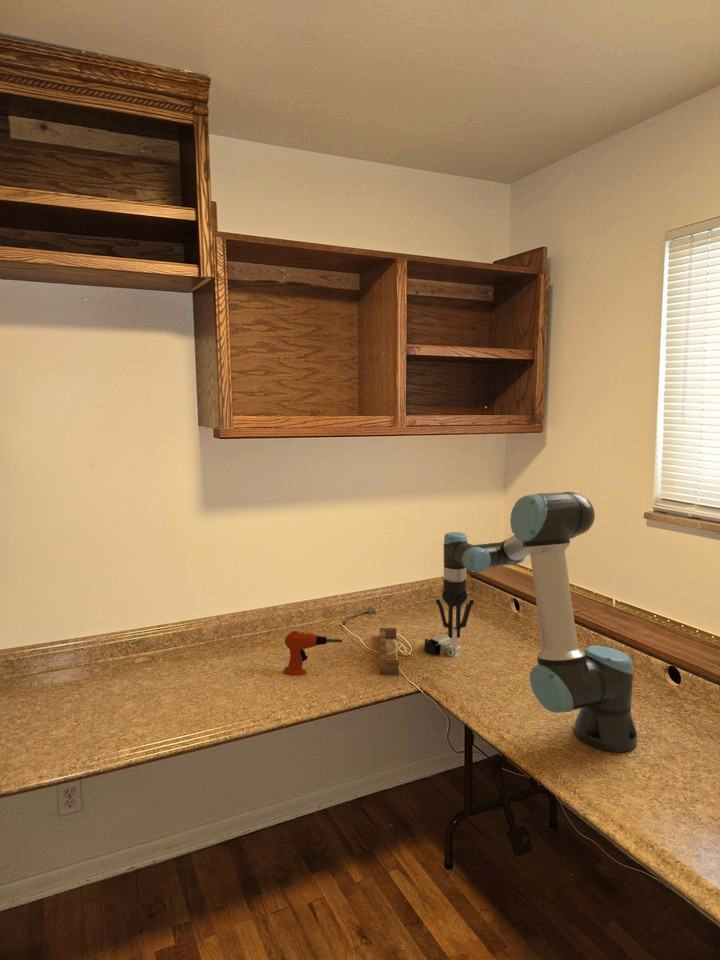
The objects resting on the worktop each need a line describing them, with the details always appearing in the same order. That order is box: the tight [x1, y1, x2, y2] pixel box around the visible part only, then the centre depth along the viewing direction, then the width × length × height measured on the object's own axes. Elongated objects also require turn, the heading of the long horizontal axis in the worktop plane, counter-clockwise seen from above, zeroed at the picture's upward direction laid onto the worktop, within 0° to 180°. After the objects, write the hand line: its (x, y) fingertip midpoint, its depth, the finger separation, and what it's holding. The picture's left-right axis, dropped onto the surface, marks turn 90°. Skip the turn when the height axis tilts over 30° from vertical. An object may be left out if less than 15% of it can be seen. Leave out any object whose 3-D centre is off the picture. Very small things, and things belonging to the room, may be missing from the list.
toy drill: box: [283, 630, 343, 677], centre depth 187 cm, size 5×19×15 cm, turn 87°
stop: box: [379, 627, 400, 677], centre depth 202 cm, size 30×6×5 cm, turn 178°
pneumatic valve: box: [423, 632, 462, 657], centre depth 206 cm, size 6×12×12 cm
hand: (453, 646), depth 201 cm, fingers closed
